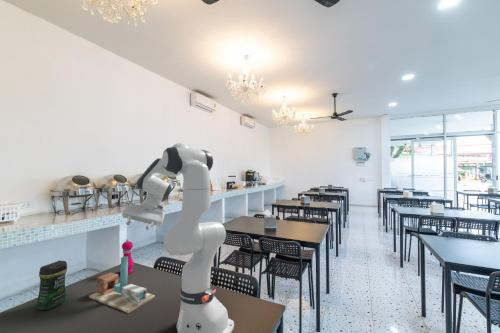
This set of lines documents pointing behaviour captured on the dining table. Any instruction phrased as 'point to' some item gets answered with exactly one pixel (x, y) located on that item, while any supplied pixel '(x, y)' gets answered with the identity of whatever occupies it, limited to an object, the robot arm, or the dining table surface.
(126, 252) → the pepper mill
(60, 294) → the coffee jar
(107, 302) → the tube fixture
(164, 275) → the dining table surface
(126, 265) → the tube
